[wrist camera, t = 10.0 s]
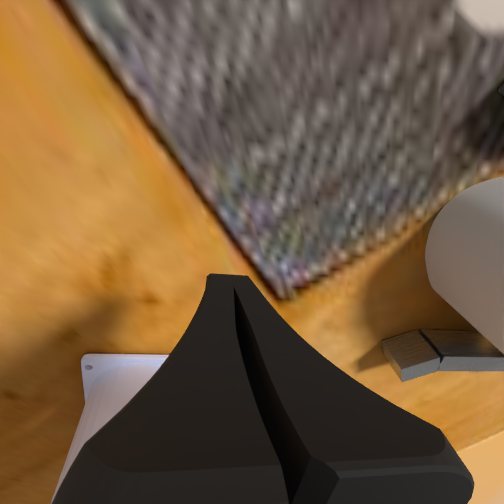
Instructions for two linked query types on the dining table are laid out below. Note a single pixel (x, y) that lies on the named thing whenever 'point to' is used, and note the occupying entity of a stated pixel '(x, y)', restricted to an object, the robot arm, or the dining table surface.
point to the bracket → (441, 349)
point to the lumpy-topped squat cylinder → (471, 257)
